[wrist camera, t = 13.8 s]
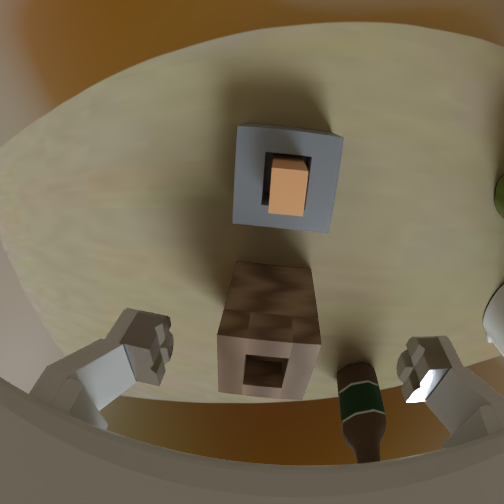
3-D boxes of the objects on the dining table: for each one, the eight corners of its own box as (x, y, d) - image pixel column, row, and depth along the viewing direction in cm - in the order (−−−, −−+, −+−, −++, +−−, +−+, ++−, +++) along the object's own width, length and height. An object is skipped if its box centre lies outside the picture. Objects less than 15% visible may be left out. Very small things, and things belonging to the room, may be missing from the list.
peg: (301, 156, 30) (308, 171, 23) (297, 190, 32) (302, 216, 25) (273, 153, 30) (271, 167, 23) (271, 188, 32) (268, 213, 25)
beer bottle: (328, 372, 48) (337, 493, 27) (367, 355, 46) (391, 479, 24) (344, 390, 51) (355, 499, 30) (379, 375, 48) (401, 486, 27)
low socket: (332, 132, 30) (343, 137, 25) (321, 213, 35) (328, 233, 29) (244, 123, 30) (237, 125, 25) (239, 204, 35) (232, 223, 30)
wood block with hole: (311, 269, 38) (321, 344, 26) (299, 324, 43) (301, 399, 31) (236, 261, 39) (217, 334, 27) (234, 317, 44) (218, 391, 31)
